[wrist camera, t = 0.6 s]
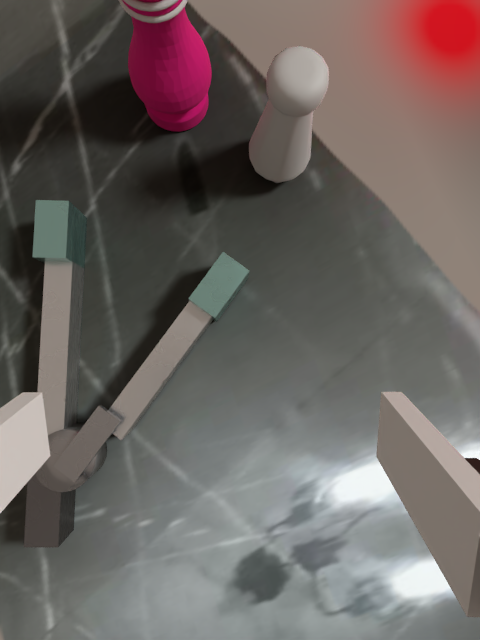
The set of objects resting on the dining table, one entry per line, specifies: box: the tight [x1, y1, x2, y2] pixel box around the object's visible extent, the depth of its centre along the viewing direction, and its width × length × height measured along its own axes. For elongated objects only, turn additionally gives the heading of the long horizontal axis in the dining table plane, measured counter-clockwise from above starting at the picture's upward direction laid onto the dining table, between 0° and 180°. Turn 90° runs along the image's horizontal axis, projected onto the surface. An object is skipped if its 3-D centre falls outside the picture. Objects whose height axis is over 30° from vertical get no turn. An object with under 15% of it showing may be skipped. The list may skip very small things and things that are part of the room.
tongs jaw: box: [53, 252, 249, 482], centre depth 35 cm, size 22×4×4 cm, turn 144°
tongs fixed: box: [24, 200, 107, 547], centre depth 35 cm, size 29×6×4 cm, turn 179°
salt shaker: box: [249, 46, 329, 183], centre depth 32 cm, size 6×6×13 cm
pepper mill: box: [119, 0, 212, 132], centre depth 29 cm, size 7×7×20 cm
